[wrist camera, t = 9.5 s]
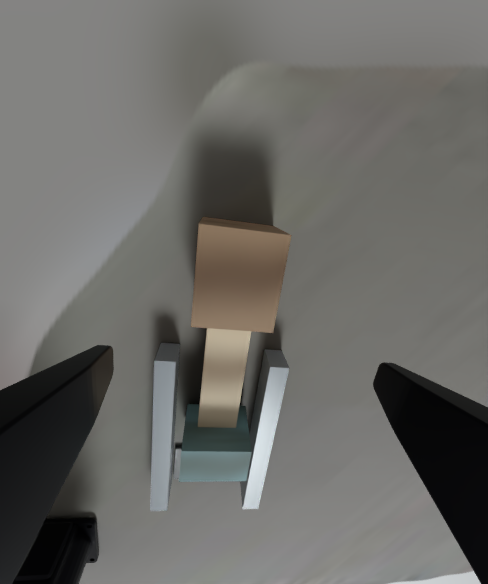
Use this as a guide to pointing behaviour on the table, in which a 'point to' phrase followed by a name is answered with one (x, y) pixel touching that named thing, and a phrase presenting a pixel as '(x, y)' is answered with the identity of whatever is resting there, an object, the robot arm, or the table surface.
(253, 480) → the channel
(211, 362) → the push rod
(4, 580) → the robot arm
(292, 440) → the table surface
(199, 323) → the block
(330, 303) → the table surface
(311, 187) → the table surface
